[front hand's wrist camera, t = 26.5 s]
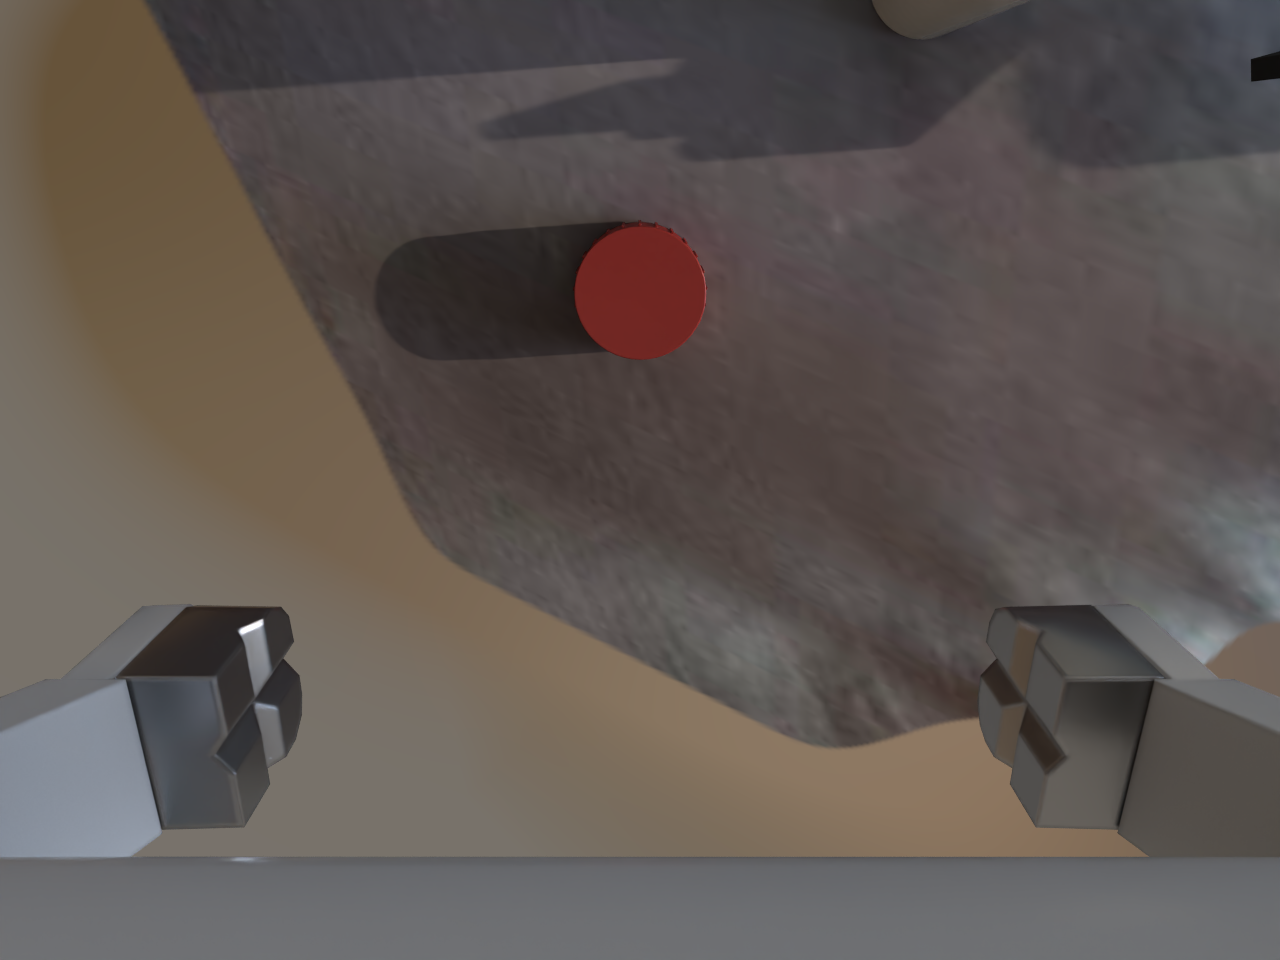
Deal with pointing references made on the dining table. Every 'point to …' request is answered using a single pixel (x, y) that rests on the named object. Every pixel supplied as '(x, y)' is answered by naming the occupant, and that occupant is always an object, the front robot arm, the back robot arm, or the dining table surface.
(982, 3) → the cream cylinder
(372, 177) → the dining table surface
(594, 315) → the lid
